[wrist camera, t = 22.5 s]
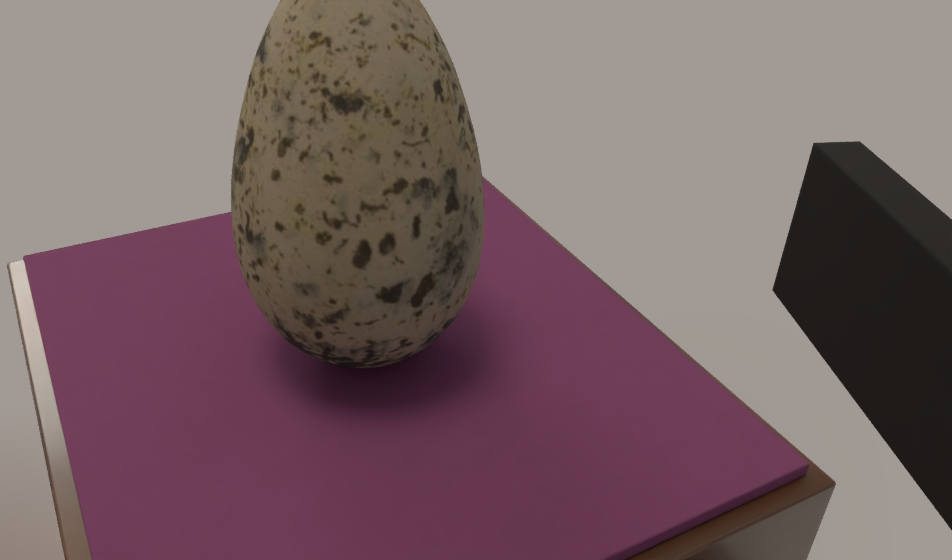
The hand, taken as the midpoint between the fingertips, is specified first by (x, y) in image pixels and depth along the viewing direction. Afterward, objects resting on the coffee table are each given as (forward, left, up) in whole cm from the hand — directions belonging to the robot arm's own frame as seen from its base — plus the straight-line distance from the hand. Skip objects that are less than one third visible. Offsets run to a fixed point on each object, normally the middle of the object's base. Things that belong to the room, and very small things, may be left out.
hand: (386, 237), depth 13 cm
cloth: (+7, -2, -8) cm, 11 cm away
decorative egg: (+7, -2, -8) cm, 11 cm away
